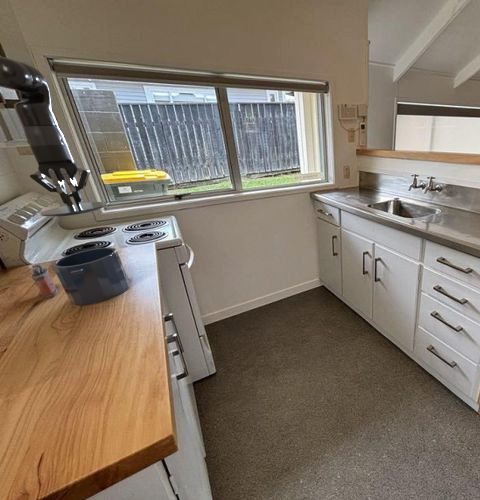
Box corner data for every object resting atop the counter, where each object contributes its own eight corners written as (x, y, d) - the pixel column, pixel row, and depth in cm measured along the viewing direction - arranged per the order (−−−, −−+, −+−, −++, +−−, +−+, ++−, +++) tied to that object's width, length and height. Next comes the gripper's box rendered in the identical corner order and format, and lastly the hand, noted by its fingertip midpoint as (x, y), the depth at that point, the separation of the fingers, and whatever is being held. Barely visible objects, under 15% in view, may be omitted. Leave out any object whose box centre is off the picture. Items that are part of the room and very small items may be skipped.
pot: (60, 316, 78) (38, 276, 73) (82, 285, 94) (66, 251, 90) (124, 300, 84) (108, 262, 79) (134, 274, 101) (121, 241, 96)
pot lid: (31, 221, 77) (20, 200, 75) (54, 210, 90) (46, 191, 88) (102, 212, 83) (94, 192, 81) (114, 202, 96) (108, 185, 94)
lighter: (45, 291, 92) (30, 263, 88) (59, 287, 94) (45, 260, 90) (41, 300, 87) (25, 271, 83) (56, 296, 88) (41, 268, 85)
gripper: (83, 142, 85) (105, 199, 92) (22, 145, 80) (50, 205, 86) (75, 142, 79) (99, 203, 86) (7, 145, 73) (39, 210, 80)
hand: (74, 204), depth 86 cm, fingers closed on pot lid, 1 cm apart
